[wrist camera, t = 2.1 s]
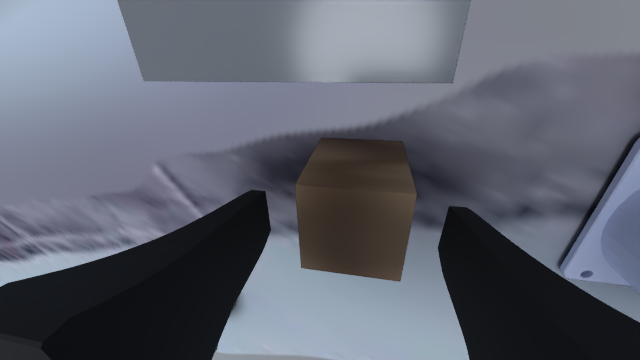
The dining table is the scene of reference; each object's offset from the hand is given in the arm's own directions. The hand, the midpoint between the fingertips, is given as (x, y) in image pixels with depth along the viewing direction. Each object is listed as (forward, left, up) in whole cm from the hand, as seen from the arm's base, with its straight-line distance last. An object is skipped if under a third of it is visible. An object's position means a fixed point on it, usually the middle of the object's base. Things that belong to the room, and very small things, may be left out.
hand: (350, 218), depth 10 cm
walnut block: (0, 0, -4) cm, 4 cm away
